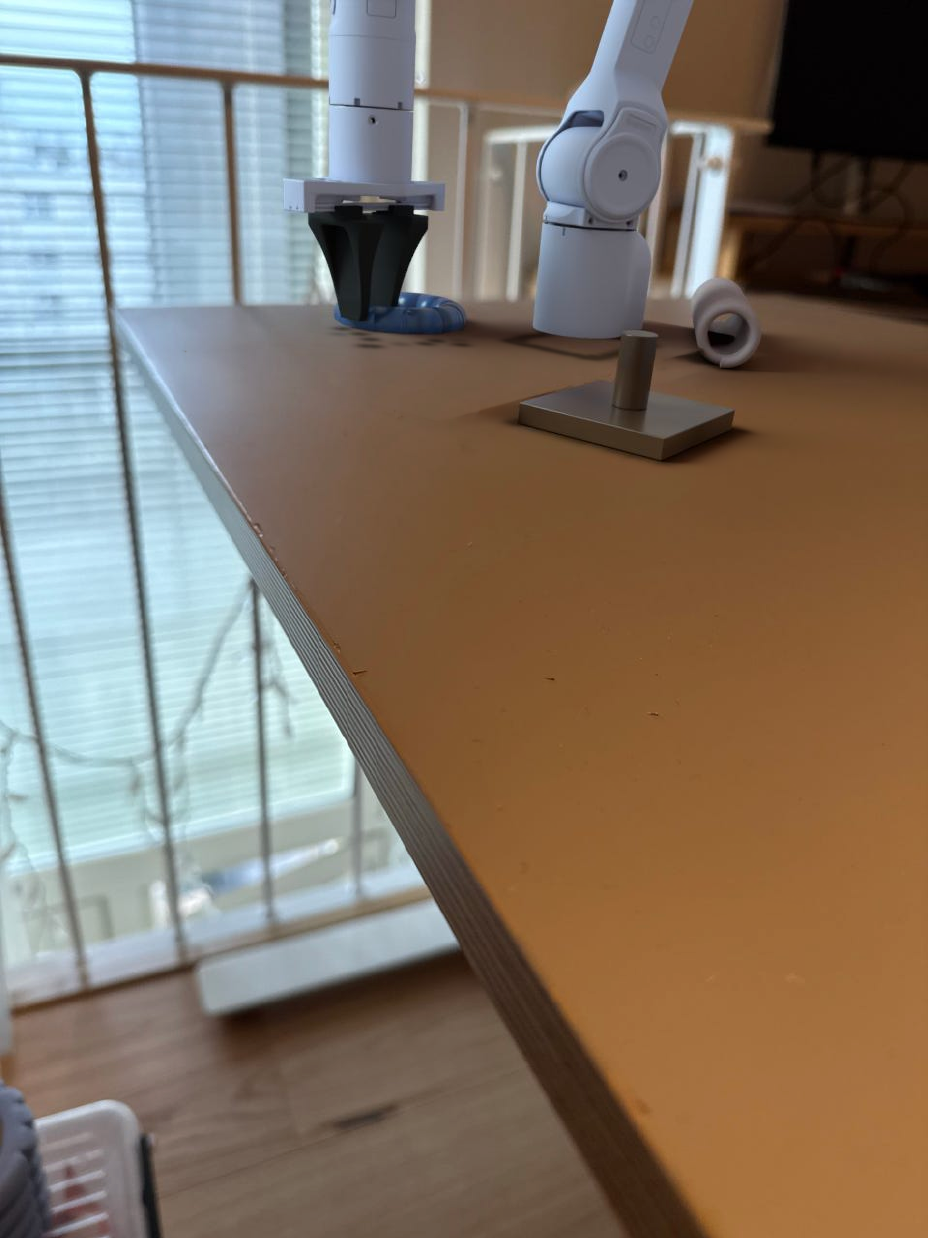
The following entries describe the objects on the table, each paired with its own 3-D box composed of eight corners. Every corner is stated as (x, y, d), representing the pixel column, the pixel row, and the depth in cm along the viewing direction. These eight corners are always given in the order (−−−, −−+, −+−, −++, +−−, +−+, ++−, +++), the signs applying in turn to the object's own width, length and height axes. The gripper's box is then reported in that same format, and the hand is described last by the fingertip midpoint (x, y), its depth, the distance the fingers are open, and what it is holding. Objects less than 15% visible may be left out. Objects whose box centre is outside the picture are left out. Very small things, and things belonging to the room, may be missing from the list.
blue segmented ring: (394, 315, 79) (395, 285, 77) (489, 334, 73) (491, 303, 72) (308, 327, 71) (307, 294, 70) (406, 350, 66) (408, 315, 65)
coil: (770, 311, 68) (750, 281, 83) (707, 298, 68) (698, 271, 84) (750, 374, 70) (734, 334, 86) (689, 361, 70) (684, 323, 86)
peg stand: (597, 398, 59) (609, 313, 56) (731, 429, 54) (749, 338, 52) (517, 423, 52) (526, 327, 50) (661, 461, 48) (678, 358, 45)
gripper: (397, 113, 70) (392, 301, 76) (248, 98, 60) (256, 317, 66) (471, 117, 66) (459, 314, 73) (327, 102, 56) (327, 333, 62)
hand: (368, 317), depth 69 cm, fingers closed on blue segmented ring, 2 cm apart
